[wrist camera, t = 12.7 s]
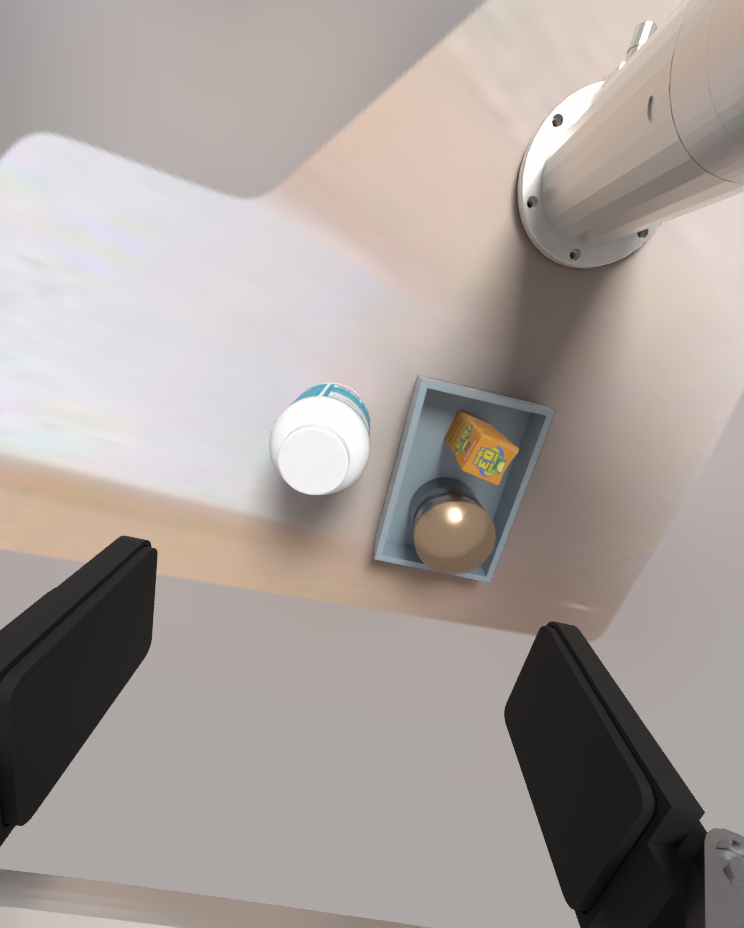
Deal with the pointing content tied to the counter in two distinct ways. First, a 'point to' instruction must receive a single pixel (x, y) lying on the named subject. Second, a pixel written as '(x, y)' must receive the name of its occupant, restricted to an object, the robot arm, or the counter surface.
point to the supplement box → (479, 447)
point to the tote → (433, 458)
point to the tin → (450, 526)
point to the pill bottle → (322, 439)
